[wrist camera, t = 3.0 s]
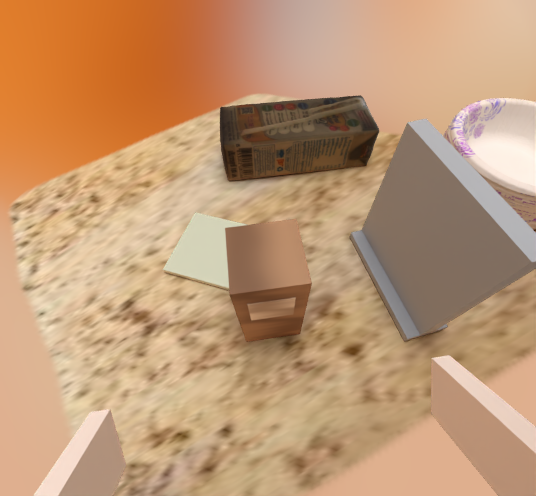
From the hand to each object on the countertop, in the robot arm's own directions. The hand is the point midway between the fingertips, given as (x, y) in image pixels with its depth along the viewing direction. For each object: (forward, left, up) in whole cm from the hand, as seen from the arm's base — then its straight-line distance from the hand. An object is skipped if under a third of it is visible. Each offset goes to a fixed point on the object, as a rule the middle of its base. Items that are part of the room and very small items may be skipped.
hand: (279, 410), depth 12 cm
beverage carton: (+7, -31, -14) cm, 35 cm away
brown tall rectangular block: (+3, -8, -13) cm, 16 cm away
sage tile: (+11, -13, -13) cm, 22 cm away
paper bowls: (-18, -30, -14) cm, 38 cm away
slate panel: (-8, -15, -13) cm, 22 cm away
